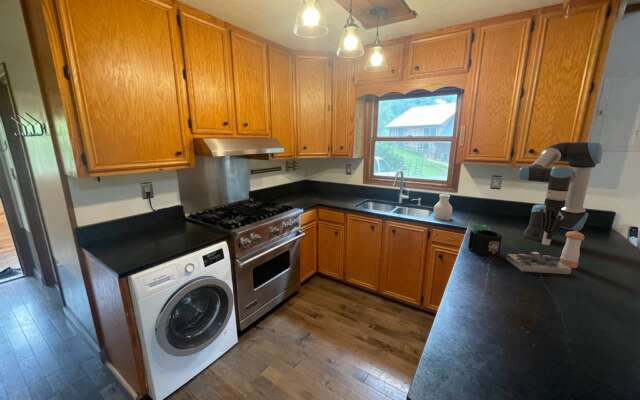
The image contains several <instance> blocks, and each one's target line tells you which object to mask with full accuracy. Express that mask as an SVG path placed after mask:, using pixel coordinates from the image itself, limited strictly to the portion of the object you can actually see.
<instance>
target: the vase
mask: <svg viewBox="0 0 640 400" xmlns="http://www.w3.org/2000/svg"><path fill="white" fill-rule="evenodd" d="M438 197H439V201H437V203H436V204H435V205H434V206H433V214H434V216H433V217H434V219H437V220H441V221H449V220H450V219H451V216H452V214H453V207H452V205H451V204H450V202H449V199H450V198H451V195H450V194H447V193H446V194H445V193H441V194H439V195H438Z"/></svg>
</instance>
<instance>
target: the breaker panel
mask: <svg viewBox="0 0 640 400" xmlns="http://www.w3.org/2000/svg"><path fill="white" fill-rule="evenodd" d="M517 254H518V253H516V254H515V253H507V254H506V258H505V259H506V261H508V262H510V264H512V265H513V266H515V267H516V268H517V269H519V270H520V271H521V272H528V273H529V272H531V273H544V274H545V273H546V274H562V275H571V273H572V268H569V267H568V266H566V265H564V264H563V263H561V262H559V261H550V260H546V259H545V260H546V261H547V263H546V264H541V263H537V262H536V261H535V260H527V259H523V258H520V257H517ZM528 255H529V256H531V255H530V254H528Z"/></svg>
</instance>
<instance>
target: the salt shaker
mask: <svg viewBox="0 0 640 400" xmlns="http://www.w3.org/2000/svg"><path fill="white" fill-rule="evenodd" d="M565 237H566V241H565V244H564V246H563V249H562V251H561V256H559V258H560V261H559V262H561V263H563V264H564V265H566V266H568V267H569V268H571V269H577V268H578V266H579V258H580V256H581V255H580V248H581V245H582V241H584V240H585V235H584V234H583V233H581V232H579V230H573V231H572V230H571V231H567V232H566V233H565Z"/></svg>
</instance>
